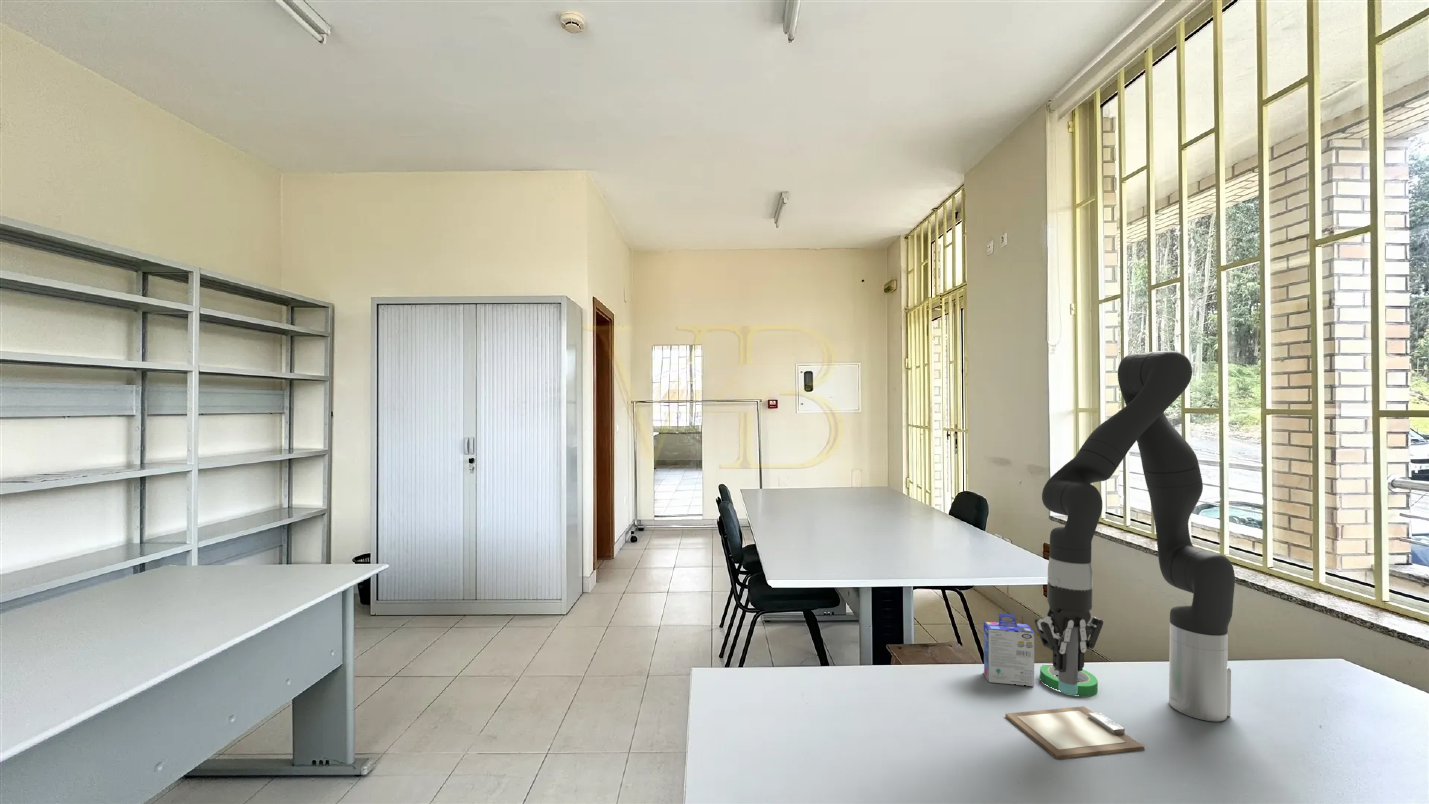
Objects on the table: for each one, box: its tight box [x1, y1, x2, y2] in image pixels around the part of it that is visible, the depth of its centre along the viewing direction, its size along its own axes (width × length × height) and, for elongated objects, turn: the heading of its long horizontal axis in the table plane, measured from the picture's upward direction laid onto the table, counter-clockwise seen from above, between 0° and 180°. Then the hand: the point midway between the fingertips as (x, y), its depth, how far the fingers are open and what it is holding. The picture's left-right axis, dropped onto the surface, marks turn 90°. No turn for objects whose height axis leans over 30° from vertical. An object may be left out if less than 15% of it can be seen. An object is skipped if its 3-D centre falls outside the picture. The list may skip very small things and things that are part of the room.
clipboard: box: [1004, 705, 1145, 760], centre depth 112 cm, size 18×14×2 cm
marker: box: [1058, 627, 1079, 696], centre depth 114 cm, size 3×3×13 cm
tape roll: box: [1039, 662, 1099, 697], centre depth 131 cm, size 11×11×3 cm
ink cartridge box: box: [983, 612, 1035, 687], centre depth 133 cm, size 10×6×14 cm, turn 78°
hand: (1068, 669), depth 114 cm, fingers closed on marker, 3 cm apart
